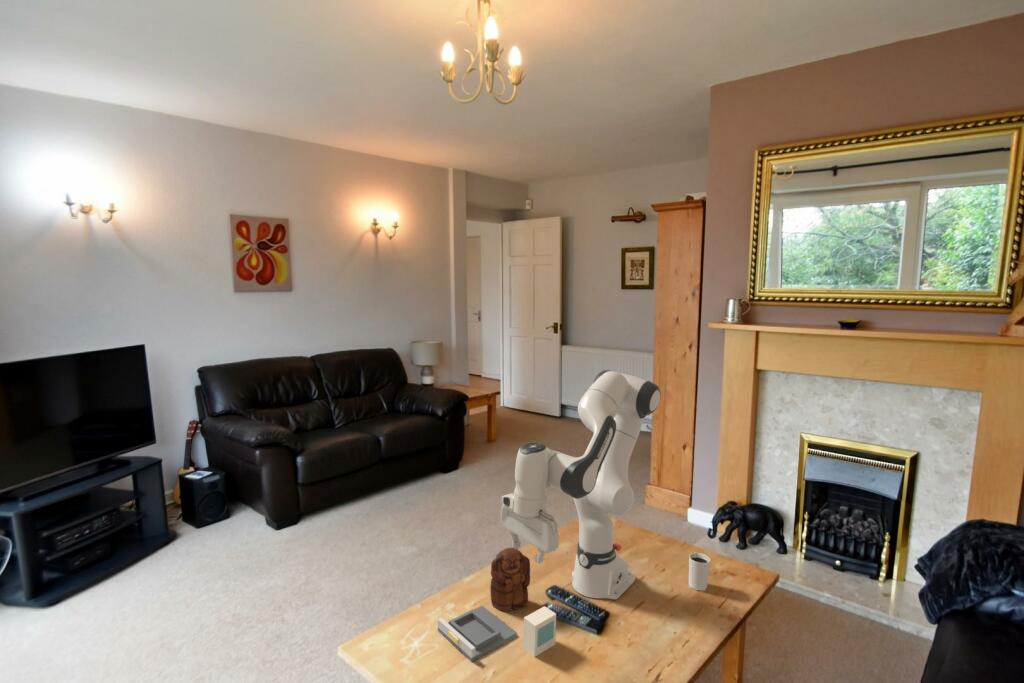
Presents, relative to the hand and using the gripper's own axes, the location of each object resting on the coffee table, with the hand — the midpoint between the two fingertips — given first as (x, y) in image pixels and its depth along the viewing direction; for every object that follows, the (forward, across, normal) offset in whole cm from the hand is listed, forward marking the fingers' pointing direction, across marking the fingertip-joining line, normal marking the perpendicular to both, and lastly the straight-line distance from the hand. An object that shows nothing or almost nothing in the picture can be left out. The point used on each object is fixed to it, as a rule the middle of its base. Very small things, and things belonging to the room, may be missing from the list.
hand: (527, 554), depth 140 cm
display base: (+27, +13, +6) cm, 30 cm away
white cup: (+24, -11, -66) cm, 72 cm away
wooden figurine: (+26, +18, -10) cm, 33 cm away
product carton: (+27, -2, -5) cm, 27 cm away
